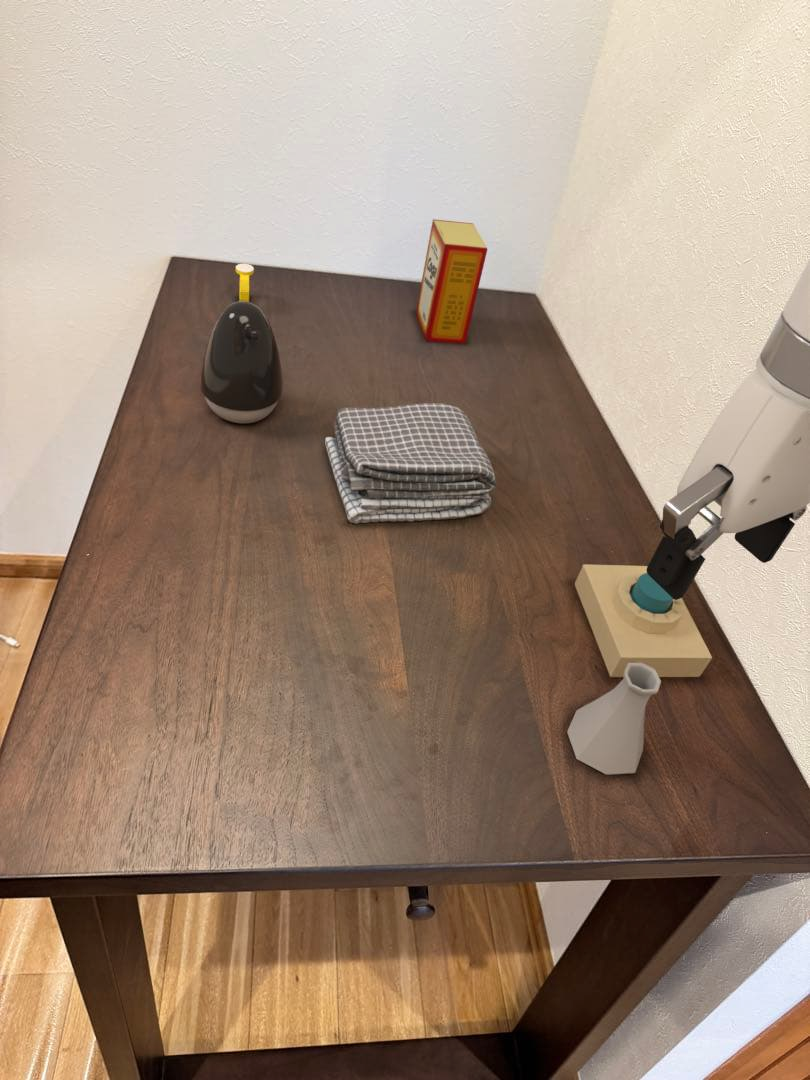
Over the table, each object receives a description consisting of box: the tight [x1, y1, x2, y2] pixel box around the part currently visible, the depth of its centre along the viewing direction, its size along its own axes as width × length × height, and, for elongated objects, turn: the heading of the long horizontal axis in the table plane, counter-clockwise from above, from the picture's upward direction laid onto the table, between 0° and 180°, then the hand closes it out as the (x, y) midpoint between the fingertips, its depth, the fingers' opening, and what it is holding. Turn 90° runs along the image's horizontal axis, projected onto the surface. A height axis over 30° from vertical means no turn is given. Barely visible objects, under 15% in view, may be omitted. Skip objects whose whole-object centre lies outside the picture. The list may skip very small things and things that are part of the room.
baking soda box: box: [415, 218, 488, 344], centre depth 124 cm, size 10×6×16 cm
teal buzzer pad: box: [574, 563, 713, 678], centre depth 83 cm, size 13×10×5 cm
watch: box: [235, 263, 255, 302], centre depth 122 cm, size 6×3×6 cm, turn 9°
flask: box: [566, 663, 662, 776], centre depth 70 cm, size 7×7×10 cm
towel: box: [324, 402, 498, 525], centre depth 94 cm, size 15×18×8 cm
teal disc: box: [631, 573, 673, 614], centre depth 81 cm, size 4×4×2 cm
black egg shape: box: [200, 300, 284, 424], centre depth 97 cm, size 10×10×15 cm
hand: (708, 567), depth 58 cm, fingers open, 9 cm apart
